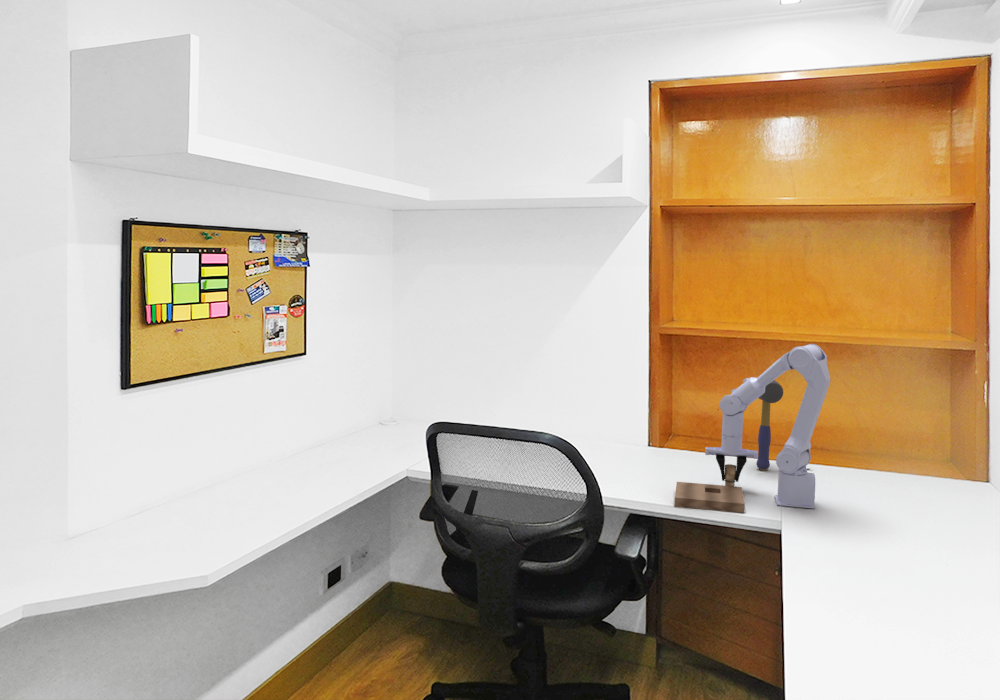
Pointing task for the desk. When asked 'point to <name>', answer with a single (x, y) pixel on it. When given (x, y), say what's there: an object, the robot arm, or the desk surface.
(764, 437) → the rubber mallet
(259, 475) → the desk surface
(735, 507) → the board
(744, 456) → the robot arm
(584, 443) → the desk surface
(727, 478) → the peg
